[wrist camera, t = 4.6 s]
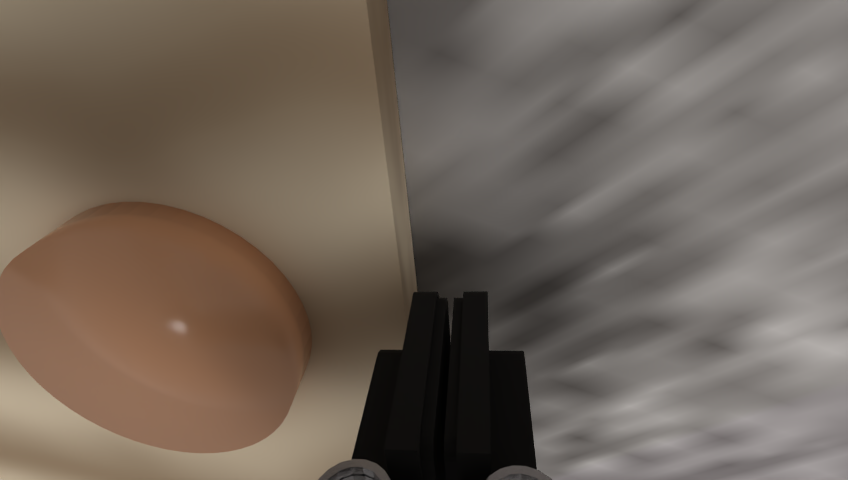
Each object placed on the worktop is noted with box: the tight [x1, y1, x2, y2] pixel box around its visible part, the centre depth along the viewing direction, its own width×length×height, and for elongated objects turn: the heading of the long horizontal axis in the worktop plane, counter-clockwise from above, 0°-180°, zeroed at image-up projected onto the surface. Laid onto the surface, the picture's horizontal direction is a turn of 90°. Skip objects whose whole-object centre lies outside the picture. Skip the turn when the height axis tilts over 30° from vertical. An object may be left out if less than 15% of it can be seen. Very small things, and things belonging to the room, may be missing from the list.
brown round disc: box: [0, 202, 312, 453], centre depth 12 cm, size 7×7×2 cm
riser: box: [0, 0, 418, 480], centre depth 14 cm, size 16×18×2 cm
